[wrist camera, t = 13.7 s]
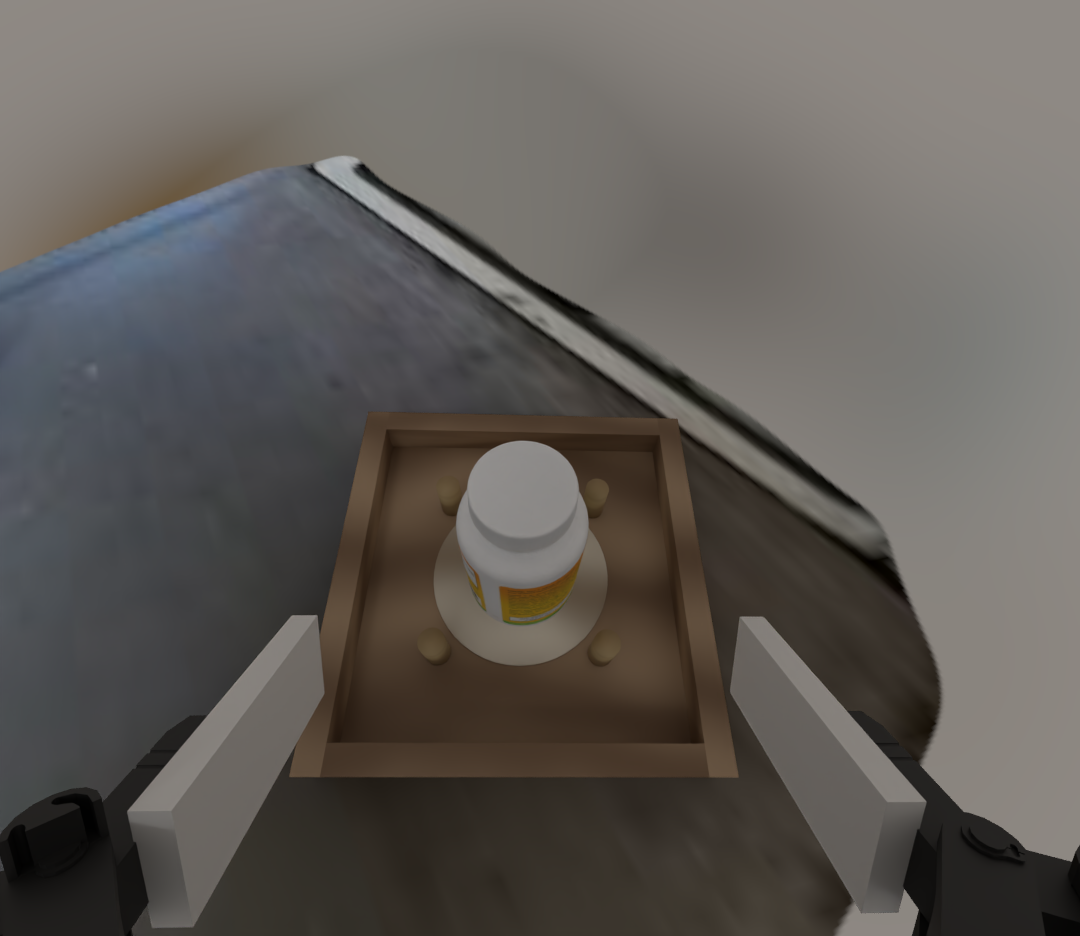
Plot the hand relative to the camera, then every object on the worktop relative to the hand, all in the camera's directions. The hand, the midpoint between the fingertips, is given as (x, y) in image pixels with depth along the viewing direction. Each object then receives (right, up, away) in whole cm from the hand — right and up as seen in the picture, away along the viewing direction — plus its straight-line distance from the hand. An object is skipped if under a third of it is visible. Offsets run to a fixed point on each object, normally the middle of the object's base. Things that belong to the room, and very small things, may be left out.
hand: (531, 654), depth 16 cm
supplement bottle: (-1, 0, +11) cm, 11 cm away
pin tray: (-1, 0, +12) cm, 12 cm away
